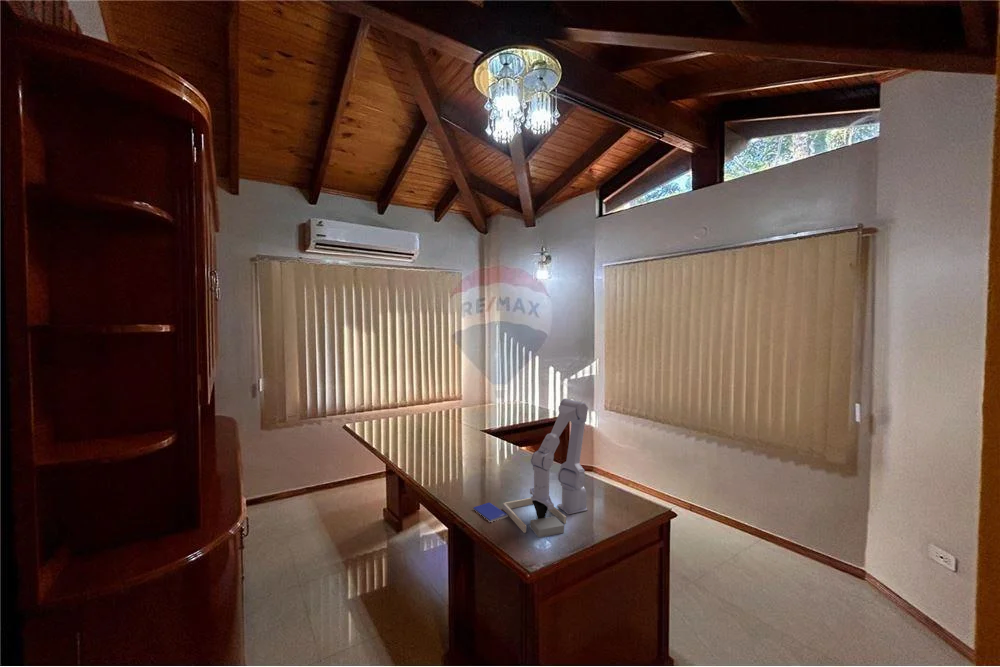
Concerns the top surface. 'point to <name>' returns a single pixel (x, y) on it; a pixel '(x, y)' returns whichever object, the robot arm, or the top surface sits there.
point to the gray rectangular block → (547, 526)
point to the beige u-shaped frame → (524, 502)
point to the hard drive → (490, 512)
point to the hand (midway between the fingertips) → (541, 520)
